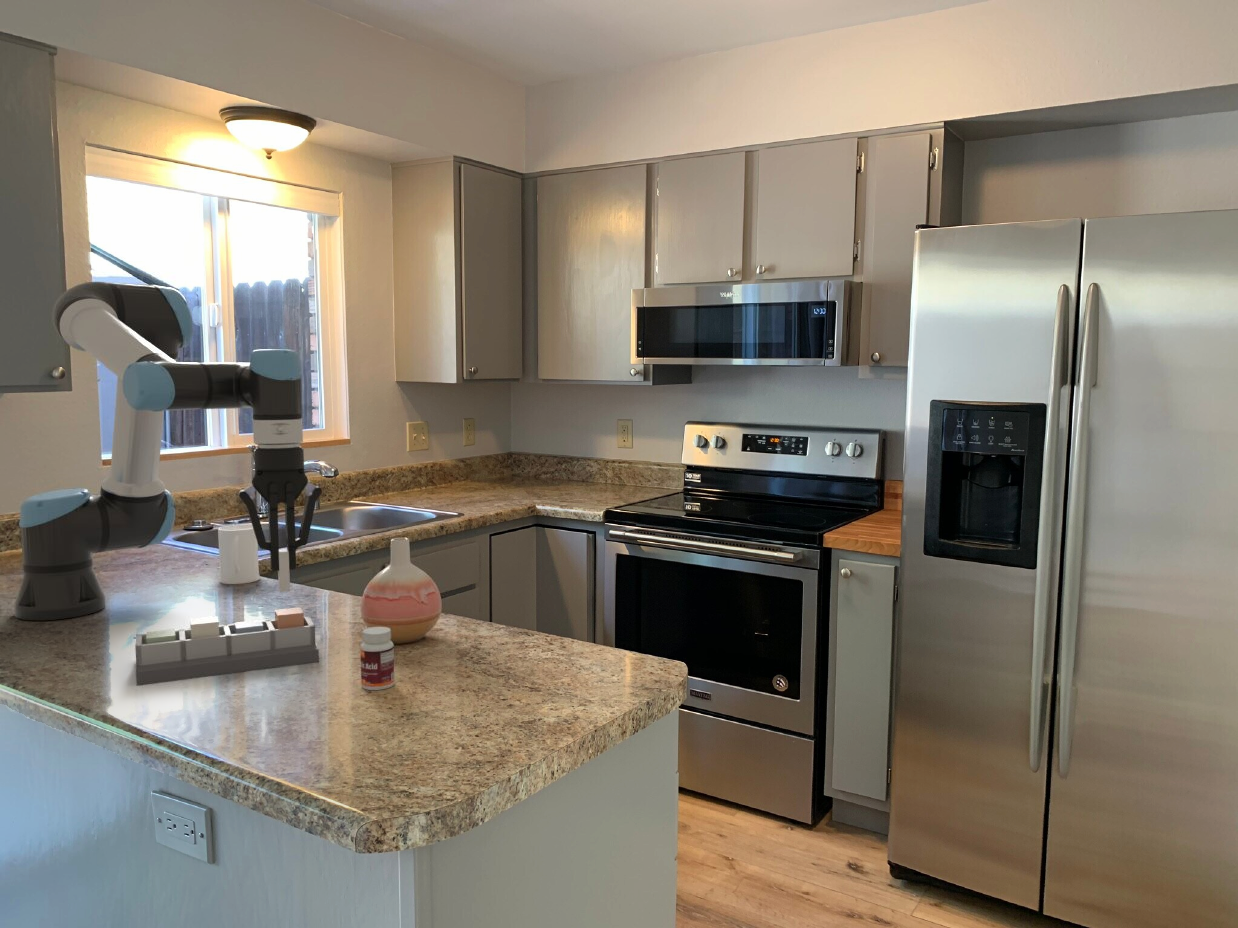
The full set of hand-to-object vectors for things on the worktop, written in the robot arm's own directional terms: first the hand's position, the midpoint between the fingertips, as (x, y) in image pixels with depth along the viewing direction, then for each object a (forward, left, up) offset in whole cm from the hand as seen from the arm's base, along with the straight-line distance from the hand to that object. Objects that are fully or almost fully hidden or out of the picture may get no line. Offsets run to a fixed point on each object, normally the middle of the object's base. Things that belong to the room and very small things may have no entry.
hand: (284, 589), depth 153 cm
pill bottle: (+10, -23, -11) cm, 27 cm away
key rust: (+1, 0, -7) cm, 7 cm away
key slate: (-6, 0, -8) cm, 10 cm away
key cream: (-12, 0, -7) cm, 14 cm away
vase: (+19, 0, -11) cm, 22 cm away
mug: (-3, +62, -11) cm, 63 cm away
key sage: (-18, 0, -8) cm, 20 cm away
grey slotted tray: (-9, 0, -11) cm, 14 cm away
